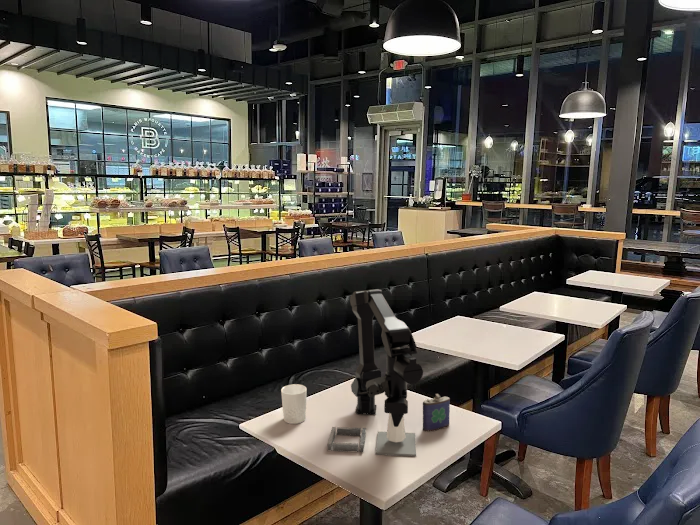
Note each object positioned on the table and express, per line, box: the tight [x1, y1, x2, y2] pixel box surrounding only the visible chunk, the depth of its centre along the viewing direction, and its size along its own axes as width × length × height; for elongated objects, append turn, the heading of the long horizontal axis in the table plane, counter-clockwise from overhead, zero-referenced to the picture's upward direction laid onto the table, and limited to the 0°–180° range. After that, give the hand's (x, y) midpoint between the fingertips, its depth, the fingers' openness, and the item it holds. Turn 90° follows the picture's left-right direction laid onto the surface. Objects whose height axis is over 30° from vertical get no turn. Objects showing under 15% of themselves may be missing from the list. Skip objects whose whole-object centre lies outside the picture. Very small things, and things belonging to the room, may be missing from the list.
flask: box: [422, 393, 451, 433], centre depth 158 cm, size 9×3×11 cm, turn 114°
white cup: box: [280, 383, 308, 425], centre depth 164 cm, size 8×8×10 cm
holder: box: [327, 426, 367, 453], centre depth 150 cm, size 10×10×2 cm
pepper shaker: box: [386, 413, 406, 442], centre depth 148 cm, size 5×5×11 cm
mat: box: [375, 430, 417, 457], centre depth 149 cm, size 12×11×1 cm
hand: (396, 422), depth 148 cm, fingers closed on pepper shaker, 4 cm apart
